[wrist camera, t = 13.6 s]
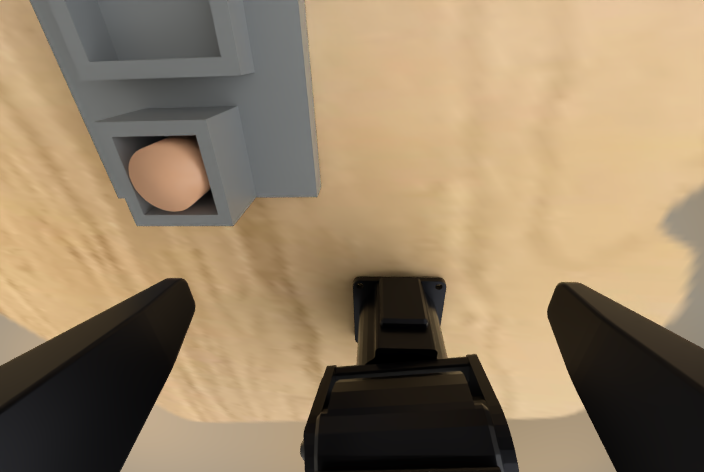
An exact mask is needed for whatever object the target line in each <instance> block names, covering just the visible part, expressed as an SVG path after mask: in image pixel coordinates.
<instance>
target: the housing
mask: <svg viewBox="0 0 704 472" xmlns="http://www.w3.org/2000/svg"><path fill="white" fill-rule="evenodd" d="M30 2H31V4H32V7H33V9H34V11H35V13H36V16H37V18H38V20H39V22H40V25H41V27H42V29H43V31H44V33H45V36H46V38H47V40H48V42H49V45H50V47H51V49H52V51H53V53H54V56H55V58H56V60H57V62H58V65H59V67H60V69H61V71H62V74H63V76H64V78H65V80H66V82H67V85H68V87H69V89H70V91H71V94H72V96H73V98H74V100H75V103H76V105H77V107H78V109H79V111H80V114H81V116H82V118H83V120H84V123H85V125H86V127H87V129H88V132H89V134H90V136H91V138H92V140H93V143H94V145H95V147H96V149H97V152H98V154H99V156H100V158H101V161H102V163H103V165H104V167H105V169H106V172H107V174H108V176H109V178H110V181H111V183H112V185H113V187H114V190H115V192H116V194H117V196H118V198H125V200H126V202H127V205H128V207H129V209H130V212H131V214H132V216H133V218H134V221H135V223H136V225H137V226H234V225H235V223H236V222H237V221H238V219H239V218H240V217H241V216H242V214H243V213H244V212H245V211H246V209H247V208H248V207H249V206H250V204H251V203H252V202H253V200H254V199H255V198H256V197H318V194H319V192H320V189H321V179H320V168H319V157H318V146H317V134H316V123H315V112H314V101H313V90H312V78H311V67H310V56H309V45H308V33H307V22H306V11H305V0H30ZM181 135H196V138H197V141H198V145H199V148H200V152H201V156H202V159H203V163H204V166H205V170H206V173H207V177H208V180H209V184H210V188H211V189H210V190H209V191H208V192H207V193H205V194H204V195H203V196H202V197H201V198H200V199H198V200H197V201H196V202H195V203H194V204H193V205H191V206H190V207H189V208H187V209H185V210H182V211H176V212H173V211H166V210H162V209H160V208H157V207H155V206H153V205H152V204H150V203H149V202H147V201H146V200H145V199H144V198H143V197H142V196H141V195H140V194H139V193H138V192H137V191H136V189H135V188H134V186H133V184H132V182H131V179H130V176H129V169H128V168H129V162H130V159H131V157H132V156H133V154H134V153H135V152H136V151H138V150H139V149H142V148H144V147H146V146H149V145H151V144H153V143H156V142H158V141H160V140H163V139H165V138H167V137H169V136H181Z"/></svg>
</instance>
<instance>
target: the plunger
mask: <svg viewBox="0 0 704 472" xmlns="http://www.w3.org/2000/svg"><path fill="white" fill-rule="evenodd" d="M128 169H129V176H130V179H131V182H132V184H133V186H134V188H135V189H136V191H137V192H138V193H139V194H140V195H141V196H142V197H143V198H144V199H145V200H146V201H147V202H149V203H150V204H152V205H153V206H155V207H157V208H160V209H162V210H166V211H173V212H176V211H182V210H185V209H187V208H189V207H190V206H191V205H193V204H194V203H195V202H196V201H197V200H198V199H200V198H201V197H202V196H203V195H204V194H205V193H207V192H208V191H209V190H210V189H211V188H210V184H209V180H208V177H207V173H206V170H205V166H204V163H203V159H202V156H201V152H200V148H199V145H198V141H197V138H196V135H181V136H169V137H167V138H165V139H163V140H160V141H158V142H156V143H153V144H151V145H149V146H146V147H144V148H142V149H139V150H138V151H136V152H135V153H134V154H133V156H132V157H131V159H130V162H129V168H128Z"/></svg>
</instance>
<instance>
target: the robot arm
mask: <svg viewBox="0 0 704 472" xmlns="http://www.w3.org/2000/svg"><path fill="white" fill-rule="evenodd" d="M358 283H361V284H363V285H358ZM438 284H441V285H440V286H436V285H438ZM445 292H446V283H445V281H444V279H442V278H412V277H357V278H355V279H354V281H353V299H354V323H355V341H356V342H357V343H358V350H357V365H354V366H342V367H337V366H336V365H334V366H327V367H326V370H325V373H324V376H323V378H322V380H321V383H320V385H319V388H318V391H317V394H316V397H315V400H314V403H313V406H312V409H311V412H310V415H309V418H308V421H307V424H306V426H305V430H304V440H303V441H302V443H301V448H300V452H301V453H300V454H301V457H302V458H303V460H304V461H305V472H519V469H518V463H517V458H516V453H515V449H514V445H513V441H512V437H511V434H510V430H509V427H508V424H507V421H506V418H505V415H504V413H503V410H502V408H501V406H500V403H499V401H498V399H497V397H496V395H495V393H494V391H493V389H492V386H491V384H490V382H489V380H488V378H487V376H486V374H485V372H484V369H483V367H482V365H481V363H480V361H479V359H478V357H477V355H476V354H472V355H466V357H456V358H448V357H447V353H446V349H445V345H444V341H443V336H442V332H441V328H440V325H441V318H442V312H443V305H444V299H445ZM194 312H195V301H194V299H193V296H192V294H191V291H190V288H189V286H188V283H187V281H186V280H185V279H182V278H167V279H165V280H163V281H161V282H159V283H157V284H155V285H153V286H151V287H149V288H147V289H146V290H144V291H142V292H140V293H138V294H136V295H134V296H132V297H130V298H128V299H127V300H125V301H123V302H121V303H119V304H117V305H115V306H113V307H111V308H109V309H108V310H106V311H104V312H102V313H100V314H98V315H96V316H94V317H92V318H90V319H89V320H87V321H85V322H83V323H81V324H79V325H77V326H75V327H73V328H71V329H70V330H68V331H66V332H64V333H62V334H60V335H58V336H56V337H54V338H52V339H50V340H49V341H47V342H45V343H43V344H41V345H39V346H37V347H35V348H33V349H32V350H30V351H28V352H26V353H24V354H22V355H20V356H18V357H16V358H14V359H12V360H11V361H9V362H7V363H5V364H3V365H1V366H0V472H120V471H121V469H122V467H123V465H124V463H125V461H126V459H127V457H128V455H129V453H130V451H131V449H132V447H133V445H134V443H135V441H136V439H137V437H138V435H139V433H140V431H141V430H142V428H143V426H144V424H145V422H146V419H147V418H148V416H149V414H150V412H151V410H152V408H153V406H154V404H155V402H156V400H157V398H158V396H159V394H160V392H161V390H162V388H163V386H164V384H165V382H166V380H167V378H168V376H169V374H170V372H171V370H172V368H173V366H174V363H175V361H176V359H177V356H178V353H179V351H180V348H181V346H182V343H183V341H184V338H185V335H186V333H187V330H188V328H189V325H190V322H191V320H192V317H193V315H194ZM547 315H548V319H549V322H550V325H551V327H552V330H553V333H554V335H555V338H556V341H557V344H558V346H559V349H560V352H561V354H562V357H563V360H564V362H565V365H566V368H567V370H568V373H569V375H570V378H571V380H572V382H573V384H574V386H575V389H576V391H577V393H578V395H579V397H580V399H581V401H582V403H583V405H584V407H585V409H586V411H587V413H588V415H589V417H590V419H591V421H592V423H593V425H594V427H595V429H596V431H597V433H598V435H599V437H600V439H601V441H602V443H603V445H604V447H605V449H606V451H607V453H608V455H609V457H610V459H611V461H612V463H613V465H614V467H615V469H616V471H617V472H704V349H703V348H701V347H699V346H697V345H695V344H694V343H692V342H690V341H688V340H686V339H684V338H682V337H681V336H679V335H677V334H675V333H673V332H671V331H669V330H668V329H666V328H664V327H662V326H660V325H658V324H656V323H654V322H653V321H651V320H649V319H647V318H645V317H643V316H641V315H639V314H638V313H636V312H634V311H632V310H630V309H628V308H626V307H624V306H623V305H621V304H619V303H617V302H615V301H613V300H611V299H609V298H608V297H606V296H604V295H602V294H600V293H598V292H596V291H594V290H593V289H591V288H589V287H587V286H585V285H583V284H581V283H578V282H561V283H559V284H558V285H557V286H556V288H555V290H554V293H553V296H552V298H551V301H550V303H549V306H548V310H547Z"/></svg>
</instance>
